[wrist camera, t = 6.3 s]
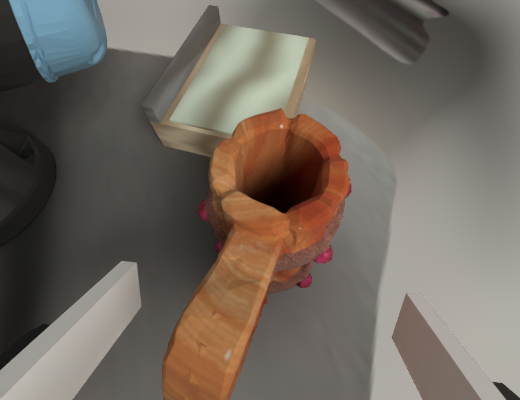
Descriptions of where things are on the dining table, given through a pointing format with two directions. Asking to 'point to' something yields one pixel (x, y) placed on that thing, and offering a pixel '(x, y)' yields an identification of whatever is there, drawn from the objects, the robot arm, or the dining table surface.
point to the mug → (255, 243)
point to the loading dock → (226, 82)
